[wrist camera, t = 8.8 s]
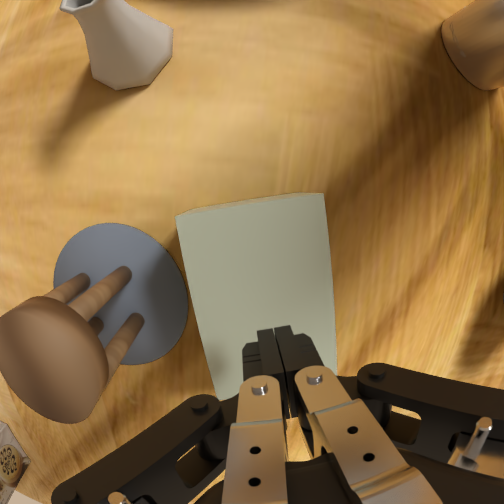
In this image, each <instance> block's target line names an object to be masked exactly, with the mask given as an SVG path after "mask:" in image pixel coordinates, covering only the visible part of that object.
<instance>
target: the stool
mask: <svg viewBox="0 0 504 504" xmlns="http://www.w3.org/2000/svg"><path fill="white" fill-rule="evenodd" d="M131 279H132V272H131V270H130V269H129V268H128V267H127V266H120V267H119V268H117V269H116V270H114V271H113V272H112V273H110V274H109V275H107V276H106V277H105V278H103V279H102V280H101V281H99V282H98V283H97V284H95V285H94V286H92V287H91V288H90V289H88V290H87V291H86V292H84V293H83V294H82V295H80V296H79V297H78V298H77V299H75V300H74V301H73V302H71V303H70V304H69V305H67V303H68V302H70V301H71V300H72V299H74V298H75V297H76V296H78V295H79V294H80V293H82V292H83V291H84V290H86V289H87V288H88V287H89V286H90V283H91V281H90V278H89V276H88V275H87V274H85V273H80V274H78V275H76V276H75V277H73V278H71V279H70V280H68V281H66V282H65V283H63V284H62V285H60V286H58V287H57V288H55V289H53V290H52V291H50V292H49V293H47V294H46V295H44V296H36V297H32V298H30V299H28V300H26V301H24V302H23V303H21V304H20V305H18V306H16V307H15V308H13V309H12V310H10V311H9V312H7V313H5V314H4V315H2V316H1V317H0V371H1V373H2V375H3V377H4V379H5V380H6V382H7V383H8V385H9V386H10V387H11V389H12V390H13V391H14V393H15V394H16V395H17V396H18V397H19V398H20V399H21V400H22V401H23V402H24V403H25V404H26V405H27V406H29V407H30V408H31V409H33V410H34V411H35V412H37V413H39V414H40V415H42V416H44V417H46V418H48V419H50V420H53V421H56V422H60V423H66V424H73V423H78V422H81V421H83V420H85V419H86V418H87V417H88V416H89V415H90V413H91V412H92V410H93V408H94V406H95V405H96V403H97V401H98V399H99V398H100V396H101V394H102V392H103V391H104V389H105V388H106V387H107V385H108V383H109V381H110V380H111V378H112V376H113V375H114V373H115V371H116V370H117V368H118V366H119V364H120V363H121V361H122V359H123V358H124V356H125V355H126V353H127V351H128V350H129V348H130V346H131V345H132V343H133V341H134V340H135V338H136V337H137V335H138V333H139V332H140V330H141V328H142V327H143V325H144V323H145V320H144V318H143V316H142V315H141V314H139V313H132V314H131V315H130V316H129V317H128V318H127V320H126V321H125V322H124V324H123V325H122V326H121V328H120V329H119V330H118V331H117V333H116V334H115V335H114V337H113V338H112V339H111V341H110V342H109V343H108V345H107V346H106V347H105V349H104V348H103V345H102V343H101V341H100V340H99V338H98V335H99V333H100V332H101V331H102V330H103V328H104V324H103V322H102V320H101V319H99V318H97V317H93V318H91V317H92V316H93V315H94V314H95V313H96V312H97V311H99V310H100V309H101V308H102V307H103V306H104V305H105V304H106V303H107V302H108V301H109V300H110V299H111V298H112V297H113V296H114V295H115V294H116V293H117V292H119V291H120V290H121V289H122V288H123V287H124V286H125V285H126V284H127V283H128V282H129V281H130V280H131ZM90 318H91V319H90ZM89 319H90V320H89ZM88 320H89V321H88ZM87 321H88V322H87Z"/></svg>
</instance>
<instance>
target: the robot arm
mask: <svg viewBox="0 0 504 504" xmlns="http://www.w3.org/2000/svg"><path fill="white" fill-rule="evenodd" d="M441 32H442V38H443V42H444V45H445V48H446V50H447V52H448V54H449V56H450V58H451V60H452V61H453V63H454V64H455V66H456V67H457V69H458V70H459V71H460V72H461V74H462V75H463V76H464V77H465V78H466V79H467V80H468V81H469V82H470V83H472V84H473V85H474V86H476V87H478V88H480V89H482V90H486V91H487V90H493V89H496V88H500V87H503V86H504V0H475V1H474V2H472V3H471V4H469V5H467V6H466V7H464V8H463V9H461V10H459V11H458V12H456V13H455V14H453V15H452V16H450V17H449V18H448V19H446V20H445V21H444V22H443V24H442V29H441ZM274 334H275V335H274ZM257 338H258V341H257V342H251V343H246V344H245V346H244V347H243V349H242V362H243V363H242V364H243V383H242V384H241V386H240V389H239V393H238V394H237V395H235V396H233V397H231V398H229V399H226V400H223V401H220V402H219V400H218V399H217V398H216V397H214V396H212V395H207V394H202V395H196V396H193V397H191V398H189V399H187V400H186V401H184V402H183V403H182V404H180V405H179V406H177V407H176V408H175V409H173V410H172V411H171V412H169V413H168V414H167V415H165V416H164V417H162V418H161V419H160V420H158V421H157V422H156V423H154V424H153V425H151V426H150V427H148V428H147V429H146V430H144V431H143V432H141V433H140V434H138V435H137V436H136V437H134V438H133V439H131V440H130V441H128V442H127V443H125V444H124V445H122V446H121V447H119V448H118V449H116V450H115V451H113V452H112V453H110V454H109V455H107V456H105V457H104V458H102V459H101V460H99V461H98V462H96V463H94V464H93V465H91V466H90V467H88V468H86V469H85V470H83V471H81V472H80V473H78V474H76V475H75V476H73V477H71V478H70V479H68V480H66V481H65V482H63V483H61V484H60V485H58V486H57V487H56V488H55V489H54V491H53V493H52V496H51V502H52V504H188V503H189V502H190V501H191V500H192V499H194V498H195V497H196V496H197V495H198V494H199V493H200V492H201V491H203V490H204V489H205V488H206V487H207V486H208V485H209V484H210V483H211V482H212V481H213V480H214V479H215V478H216V477H218V476H219V475H220V474H221V473H222V472H223V471H224V470H225V478H224V480H222V481H220V482H219V483H217V484H215V485H214V486H212V487H211V488H210V489H209V490H207V491H206V492H205V493H204V494H203V495H202V496H201V497H200V498H199V499H198V500H197V501H196V502H195V503H194V504H504V390H502V389H496V388H491V387H485V386H480V385H475V384H470V383H465V382H460V381H456V380H451V379H446V378H442V377H438V376H433V375H429V374H425V373H421V372H416V371H412V370H408V369H404V368H400V367H397V366H393V365H389V364H385V363H371V364H368V365H365V366H363V367H362V368H361V369H360V370H359V371H358V373H357V376H351V377H342V376H336V375H335V374H334V373H333V371H332V370H331V369H330V368H328V367H325V366H324V364H323V362H322V360H321V357H320V355H319V353H318V351H317V350H316V347H315V345H314V343H313V341H312V339H311V337H309V336H307V335H306V334H304V333H301V334H296V335H294V334H293V331H292V329H291V326H290V325H286V326H281V327H275V328H274V331H273V328H269V329H264V330H257ZM288 404H289V406H288ZM392 405H393V406H396V407H400V408H403V409H406V410H410V411H413V412H416V413H417V414H418V415H419V416H420V417H421V420H419V419H416V418H413V417H409V416H406V415H403V414H400V413H396V412H393V411H391V409H392ZM289 408H290V413H291V417H292V418H294V417H298V419H299V425H300V432H301V435H302V438H303V440H304V443H305V445H306V448H307V450H308V453H309V456H310V458H311V460H309V461H302V462H289V456H288V445H287V435H286V430H287V422H286V419H290V414H289ZM194 445H195V447H194V448H193V449H192V450H191V451H190V452H188V453H187V454H186V455H185V456H184V457H182V458H181V459H180V460H179V461H177V460H178V459H179V458H180V457H181V456H182V455H184V454H185V453H186V452H187V451H188V450H190V449H191V448H192V447H193V446H194Z"/></svg>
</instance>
